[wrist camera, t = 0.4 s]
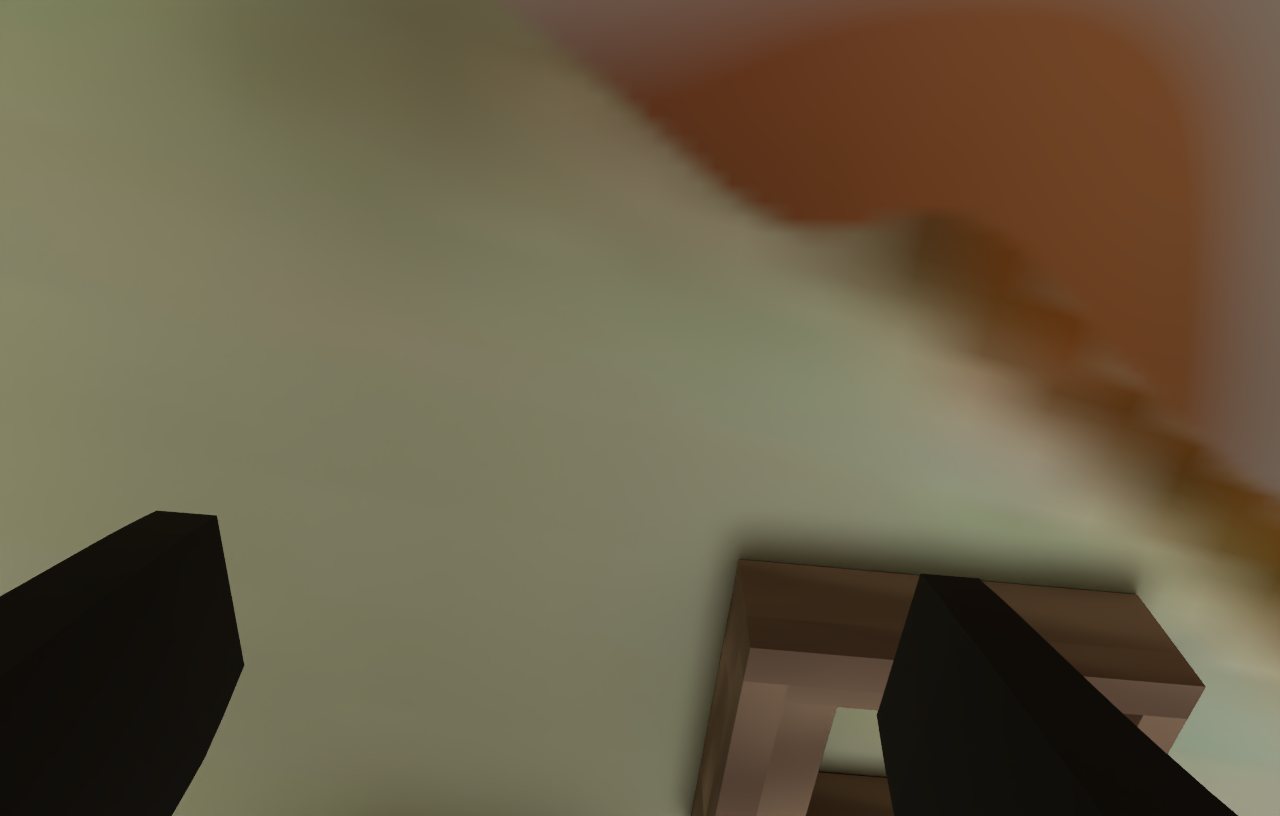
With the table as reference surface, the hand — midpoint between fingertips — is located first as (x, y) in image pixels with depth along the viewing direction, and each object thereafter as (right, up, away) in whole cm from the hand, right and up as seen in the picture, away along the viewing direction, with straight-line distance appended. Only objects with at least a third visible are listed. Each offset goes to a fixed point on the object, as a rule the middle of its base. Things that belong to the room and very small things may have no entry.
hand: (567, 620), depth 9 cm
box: (+8, -6, +14) cm, 18 cm away
